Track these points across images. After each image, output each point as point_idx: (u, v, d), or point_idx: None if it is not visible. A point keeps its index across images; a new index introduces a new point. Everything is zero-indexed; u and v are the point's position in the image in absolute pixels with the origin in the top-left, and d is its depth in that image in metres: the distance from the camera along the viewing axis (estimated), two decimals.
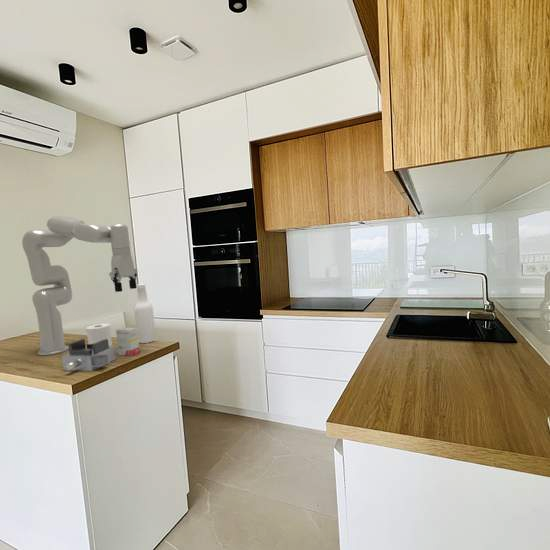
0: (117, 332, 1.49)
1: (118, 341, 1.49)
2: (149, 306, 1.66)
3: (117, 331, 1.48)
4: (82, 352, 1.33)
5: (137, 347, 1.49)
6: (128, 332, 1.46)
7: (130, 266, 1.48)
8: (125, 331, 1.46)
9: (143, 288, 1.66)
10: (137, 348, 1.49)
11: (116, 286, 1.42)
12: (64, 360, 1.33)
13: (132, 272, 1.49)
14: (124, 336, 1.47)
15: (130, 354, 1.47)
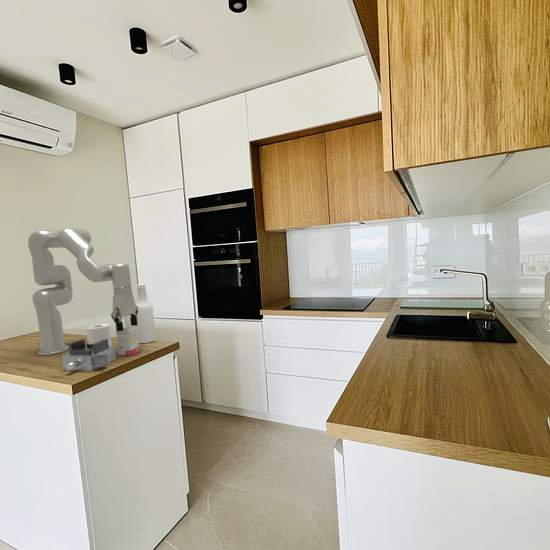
0: (117, 332, 1.49)
1: (118, 341, 1.49)
2: (149, 306, 1.66)
3: (117, 331, 1.48)
4: (82, 352, 1.33)
5: (137, 347, 1.49)
6: (128, 332, 1.46)
7: (131, 304, 1.49)
8: (125, 331, 1.46)
9: (143, 288, 1.66)
10: (137, 348, 1.49)
11: (117, 326, 1.43)
12: (64, 360, 1.33)
13: (133, 310, 1.50)
14: (124, 336, 1.47)
15: (130, 354, 1.47)
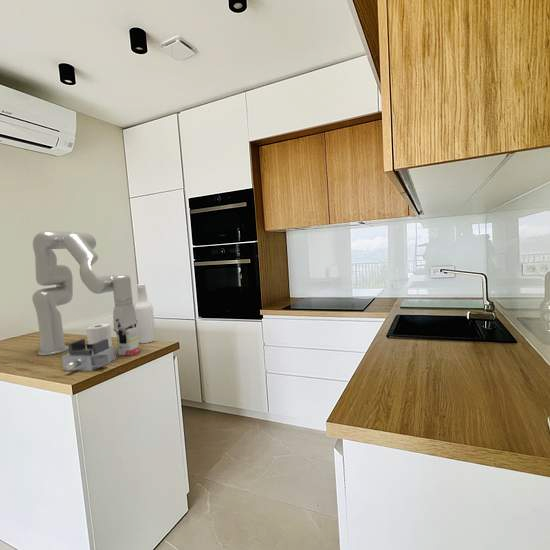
0: None
1: (118, 341, 1.49)
2: (149, 306, 1.66)
3: None
4: (82, 352, 1.33)
5: (137, 347, 1.49)
6: (128, 332, 1.46)
7: (132, 315, 1.50)
8: (125, 331, 1.46)
9: (143, 288, 1.66)
10: (137, 348, 1.49)
11: (121, 338, 1.46)
12: (64, 360, 1.33)
13: (133, 321, 1.51)
14: None
15: (130, 354, 1.47)
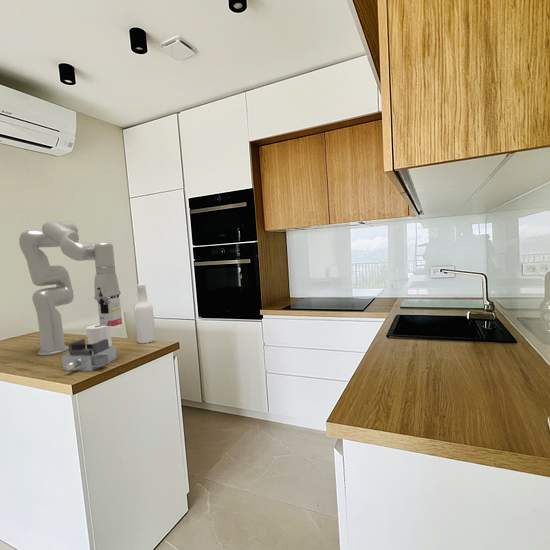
0: None
1: (100, 311, 1.43)
2: (149, 306, 1.66)
3: None
4: (82, 352, 1.33)
5: (120, 318, 1.44)
6: (110, 301, 1.40)
7: (114, 285, 1.44)
8: (107, 300, 1.41)
9: (143, 288, 1.66)
10: (120, 319, 1.44)
11: (102, 308, 1.40)
12: (64, 360, 1.33)
13: (116, 291, 1.45)
14: None
15: (112, 324, 1.41)
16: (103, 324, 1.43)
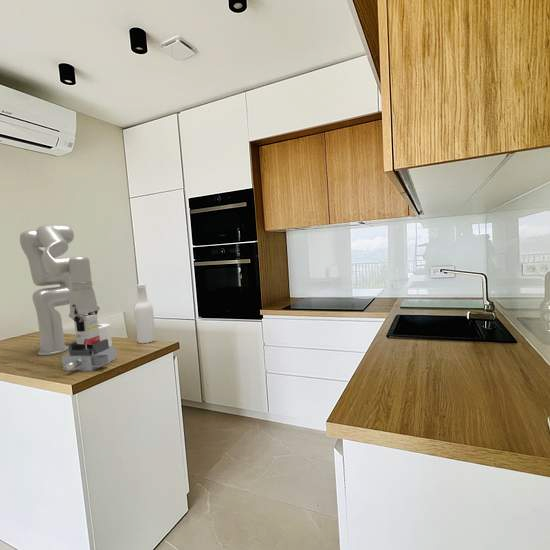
0: None
1: (76, 329, 1.36)
2: (149, 306, 1.66)
3: None
4: (82, 352, 1.33)
5: (97, 335, 1.37)
6: (86, 319, 1.33)
7: (91, 301, 1.37)
8: (83, 318, 1.34)
9: (143, 288, 1.66)
10: (97, 337, 1.37)
11: (78, 326, 1.33)
12: (64, 360, 1.33)
13: (93, 308, 1.38)
14: None
15: (89, 343, 1.34)
16: (80, 342, 1.36)
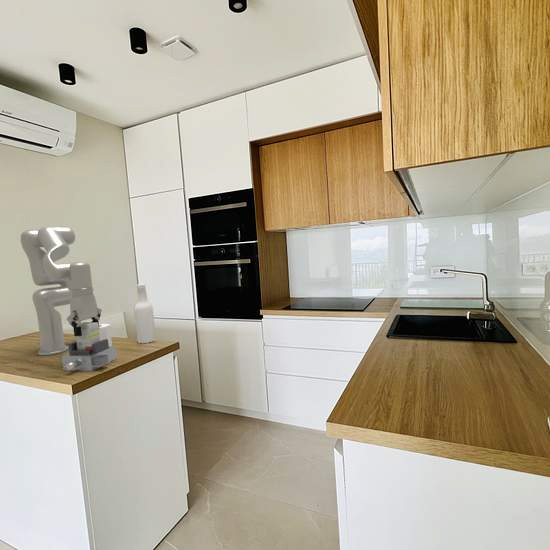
0: None
1: (77, 337, 1.37)
2: (149, 306, 1.66)
3: None
4: (82, 352, 1.33)
5: None
6: (87, 327, 1.34)
7: (92, 307, 1.37)
8: (84, 326, 1.34)
9: (143, 288, 1.66)
10: None
11: (75, 330, 1.32)
12: (64, 360, 1.33)
13: (94, 313, 1.39)
14: (83, 331, 1.35)
15: None
16: None
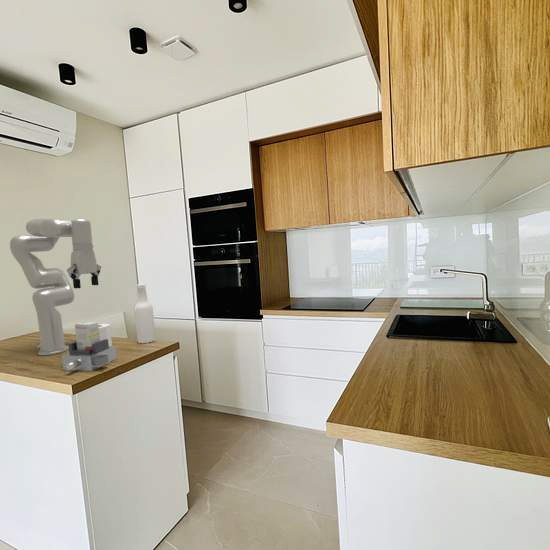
0: (75, 327, 1.37)
1: (77, 337, 1.37)
2: (149, 306, 1.66)
3: (76, 326, 1.36)
4: (82, 352, 1.33)
5: None
6: (87, 327, 1.34)
7: (91, 262, 1.44)
8: (84, 326, 1.34)
9: (143, 288, 1.66)
10: None
11: (74, 283, 1.39)
12: (64, 360, 1.33)
13: (93, 269, 1.46)
14: (83, 331, 1.35)
15: None
16: None
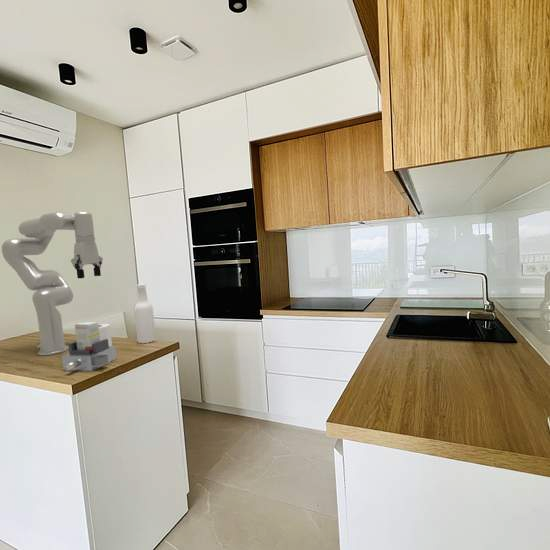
0: (75, 327, 1.37)
1: (77, 337, 1.37)
2: (149, 306, 1.66)
3: (76, 326, 1.36)
4: (82, 352, 1.33)
5: None
6: (87, 327, 1.34)
7: (94, 253, 1.50)
8: (84, 326, 1.34)
9: (143, 288, 1.66)
10: None
11: (78, 273, 1.44)
12: (64, 360, 1.33)
13: (95, 260, 1.51)
14: (83, 331, 1.35)
15: None
16: None
